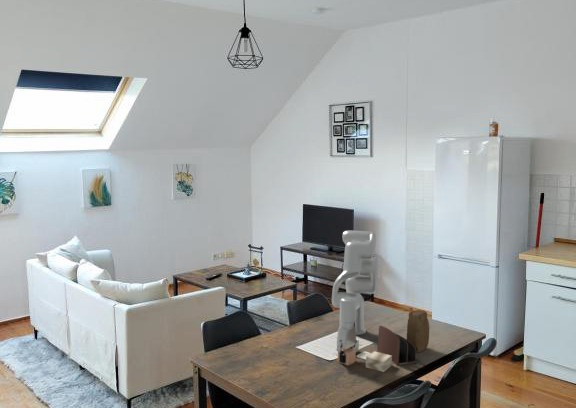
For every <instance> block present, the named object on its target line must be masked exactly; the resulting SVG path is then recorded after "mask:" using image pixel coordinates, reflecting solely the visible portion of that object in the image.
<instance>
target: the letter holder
mask: <svg viewBox="0 0 576 408" xmlns="http://www.w3.org/2000/svg"><path fill="white" fill-rule="evenodd" d="M376 351H377V352H379V353H383V354H387V355H391V356H392V363H393V364H395V365H396V366H397V367H398V366H406V365H413V364H416V363H417V360H416V359H417V352H416V348H415V347H414V345H413V344H411V343H410V342H409V341H408V340H407V338H405V337H404V336H401V335H399V334H397V333H396V332H393V331H392V330H391V329H389V328H387V327H385V326H383V325H379V326H378V334H377V349H376Z"/></svg>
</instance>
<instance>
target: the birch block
mask: <svg viewBox="0 0 576 408" xmlns="http://www.w3.org/2000/svg"><path fill="white" fill-rule="evenodd" d="M370 353H371V354H370V355H369V356H367V357H366V360H365V368H366V369H367V368H368V369H371V370H375V371H379V372H382V373H385V372H386V371H387V370H388V369H389V368H391V367H392V365H393V362H392V356H391V355H387V354H383V353H381V352H379V351H376V350H374V351H372V352H370Z"/></svg>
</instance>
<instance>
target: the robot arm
mask: <svg viewBox="0 0 576 408" xmlns="http://www.w3.org/2000/svg"><path fill="white" fill-rule="evenodd" d="M341 237H342V242H343V243H344V245H345V247H344V256H343V258H344V259H343V268H342V269H343V270H342V272H341V273H340V274H339V275H338V276H337V278H336V279H335V281H334V282H333V284H332V290H331V291H332V294H331V303H332V306H333V307H334V308H338V309H339V327H338V330H337V337H336V351H337V354H338V353H339V354H340V355H339V362H341V363H340V364H342V363H344V364H343V365H345V363H346V355H345V352H346V349H348V348H352V349H355V348H354V347H355V344H356V342H357V340H356V339H357V336H361V335H364V334H366V333H367V329H366V328H365V327H364V319H365V318H364V315H365V299H364V297H363V296H362V295H361V294H370V295H371V294H375V293H377V292H378V288H379V263H378V260H377V259H376V258H375V257H374V255H375V254H376V253H375V252H376V244H377V235H376V233H375V232H373V231H368V230H366V231H365V230H349V229H348V230H344V231H343V232H342V236H341ZM344 282H345V290H346V292H341V291H339V289H340V286H341V285H342V283H344ZM342 347H343V348H342ZM342 349H343V350H344V351H342ZM339 362H338V363H339Z"/></svg>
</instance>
